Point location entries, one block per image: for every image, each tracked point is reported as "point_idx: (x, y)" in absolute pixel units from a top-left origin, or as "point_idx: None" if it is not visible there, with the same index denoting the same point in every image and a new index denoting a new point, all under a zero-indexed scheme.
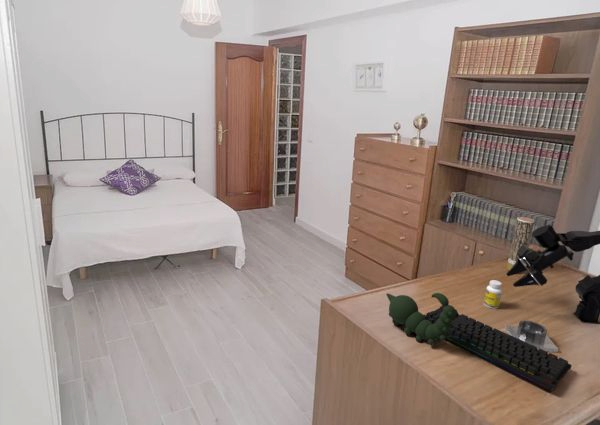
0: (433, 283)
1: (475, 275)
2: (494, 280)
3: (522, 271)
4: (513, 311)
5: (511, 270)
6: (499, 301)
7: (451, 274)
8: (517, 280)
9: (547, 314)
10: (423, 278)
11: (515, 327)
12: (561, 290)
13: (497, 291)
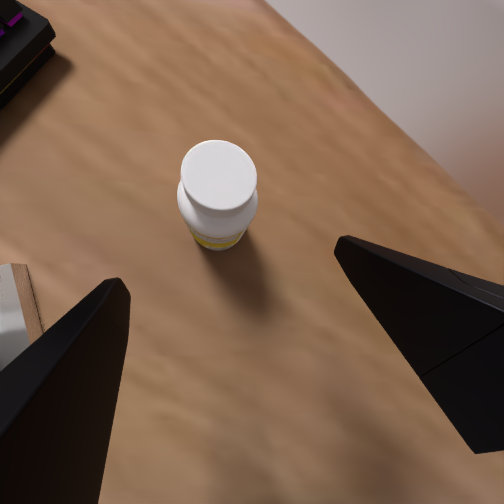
0: (290, 64)
1: (416, 193)
2: (249, 169)
3: (426, 379)
4: (208, 303)
5: (385, 265)
6: (204, 243)
7: (382, 124)
8: (83, 325)
9: (247, 432)
10: (309, 41)
11: (3, 307)
12: (471, 471)
13: (182, 206)
